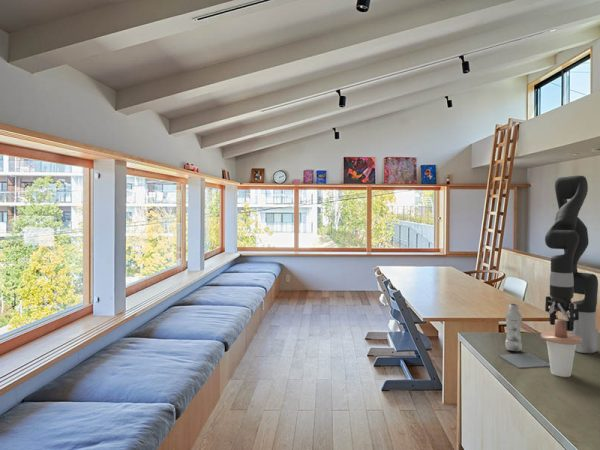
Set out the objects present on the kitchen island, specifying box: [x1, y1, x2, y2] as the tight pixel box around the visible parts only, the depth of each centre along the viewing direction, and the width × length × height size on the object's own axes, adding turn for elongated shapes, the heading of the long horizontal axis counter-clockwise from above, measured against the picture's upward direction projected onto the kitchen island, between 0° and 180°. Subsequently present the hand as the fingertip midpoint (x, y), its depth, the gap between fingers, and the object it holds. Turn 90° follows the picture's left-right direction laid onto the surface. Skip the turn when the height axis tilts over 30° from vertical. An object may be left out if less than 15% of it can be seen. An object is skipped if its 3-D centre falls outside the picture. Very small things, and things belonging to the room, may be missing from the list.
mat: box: [497, 352, 550, 369], centre depth 174 cm, size 14×14×1 cm
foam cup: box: [545, 340, 576, 378], centre depth 160 cm, size 10×9×13 cm
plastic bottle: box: [504, 303, 523, 352], centre depth 185 cm, size 6×7×20 cm
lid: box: [540, 318, 582, 345], centre depth 160 cm, size 13×13×7 cm
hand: (561, 327), depth 160 cm, fingers open, 8 cm apart
